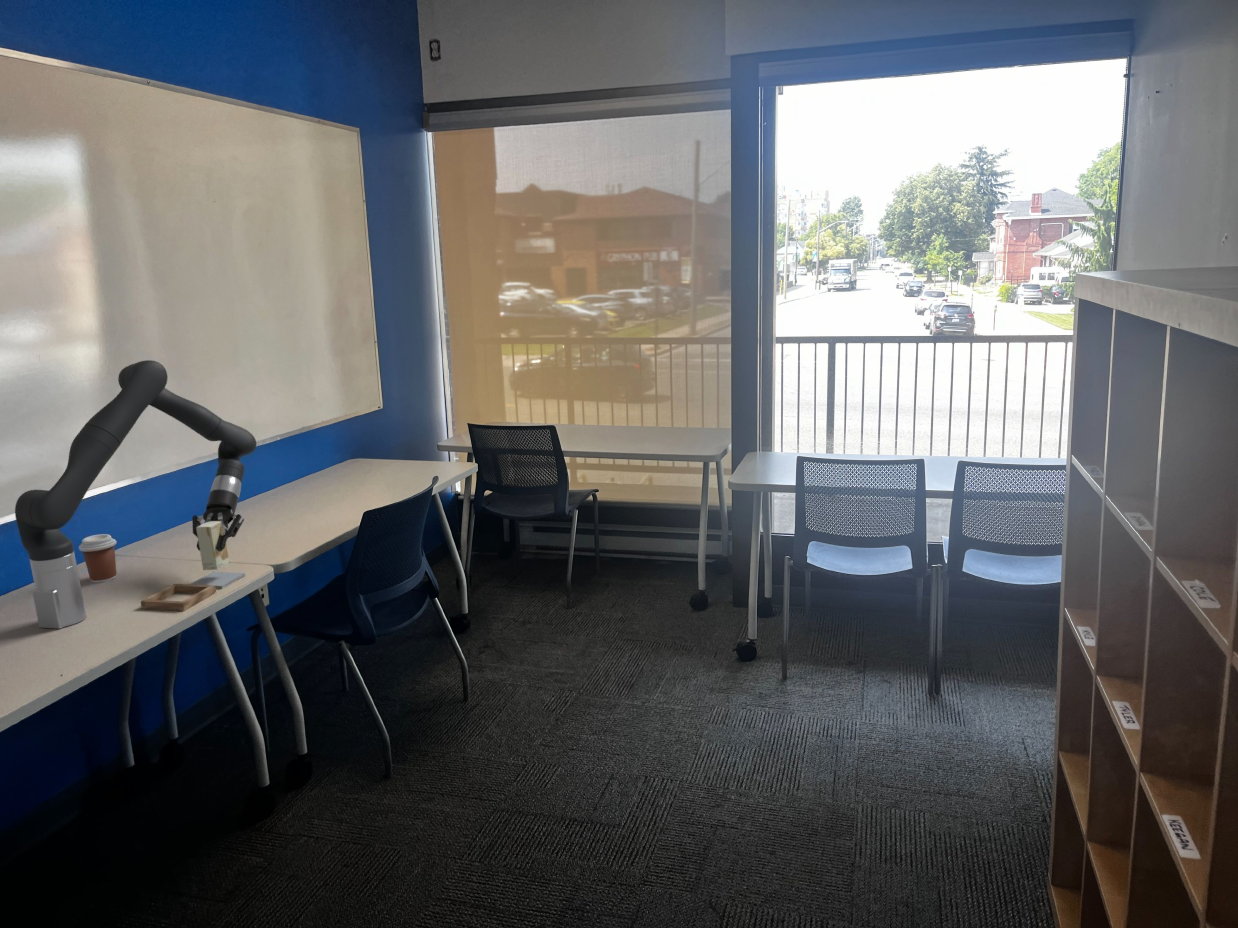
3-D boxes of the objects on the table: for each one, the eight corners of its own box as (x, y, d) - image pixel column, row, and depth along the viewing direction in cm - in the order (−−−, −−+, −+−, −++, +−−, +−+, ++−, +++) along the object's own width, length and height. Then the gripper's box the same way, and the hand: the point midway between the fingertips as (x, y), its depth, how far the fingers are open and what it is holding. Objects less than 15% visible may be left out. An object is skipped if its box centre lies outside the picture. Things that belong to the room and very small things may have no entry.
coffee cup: (85, 576, 250) (78, 536, 247) (122, 570, 254) (115, 530, 251) (84, 586, 242) (76, 545, 239) (122, 580, 246) (114, 539, 243)
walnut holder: (184, 610, 222) (183, 603, 221) (141, 608, 224) (140, 601, 224) (216, 592, 233) (215, 585, 233) (175, 590, 236) (174, 583, 236)
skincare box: (217, 570, 238) (210, 527, 235) (202, 570, 238) (194, 527, 236) (230, 562, 244) (223, 519, 241) (215, 562, 245) (208, 520, 242)
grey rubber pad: (222, 588, 236) (221, 585, 236) (189, 587, 238) (189, 584, 238) (245, 575, 246) (244, 572, 246) (213, 574, 248) (213, 571, 248)
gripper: (193, 489, 244) (177, 544, 235) (243, 487, 243) (229, 543, 235) (205, 502, 251) (190, 556, 242) (255, 500, 250) (241, 555, 241)
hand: (209, 550), depth 238 cm, fingers closed on skincare box, 4 cm apart
